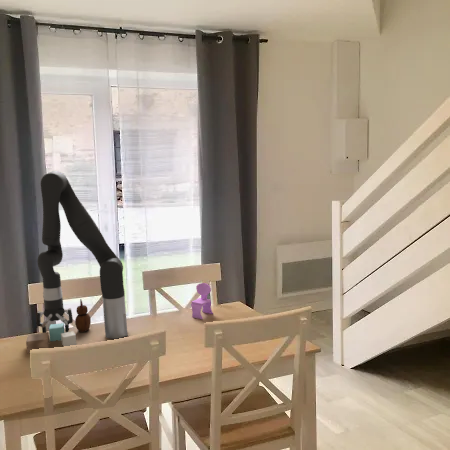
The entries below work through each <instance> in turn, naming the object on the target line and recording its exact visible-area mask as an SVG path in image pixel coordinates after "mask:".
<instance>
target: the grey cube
mask: <svg viewBox="0 0 450 450" xmlns="http://www.w3.org/2000/svg"><path fill="white" fill-rule="evenodd" d="M76 336H77V335H76V333H75V331H74V330H72V331H69V332H66V333H61V340H60V341H61V346H62V345H63V346H70V345H78V344H77V337H76ZM63 346H62V347H63Z"/></svg>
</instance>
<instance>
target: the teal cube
mask: <svg viewBox="0 0 450 450" xmlns="http://www.w3.org/2000/svg"><path fill="white" fill-rule="evenodd" d="M48 332H49V342H56V340H58V341H61V333H65V324H64V323H63V322H61V323H54V324H53V323H51V324H49V328H48Z"/></svg>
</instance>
